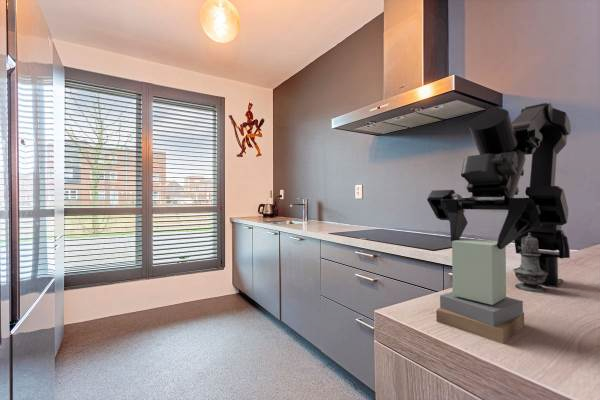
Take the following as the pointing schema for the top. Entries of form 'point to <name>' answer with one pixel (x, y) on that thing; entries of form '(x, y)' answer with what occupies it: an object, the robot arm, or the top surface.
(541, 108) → the robot arm
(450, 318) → the walnut base slab
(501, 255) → the sage green block
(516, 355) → the top surface
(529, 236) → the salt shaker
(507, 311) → the charcoal top slab
